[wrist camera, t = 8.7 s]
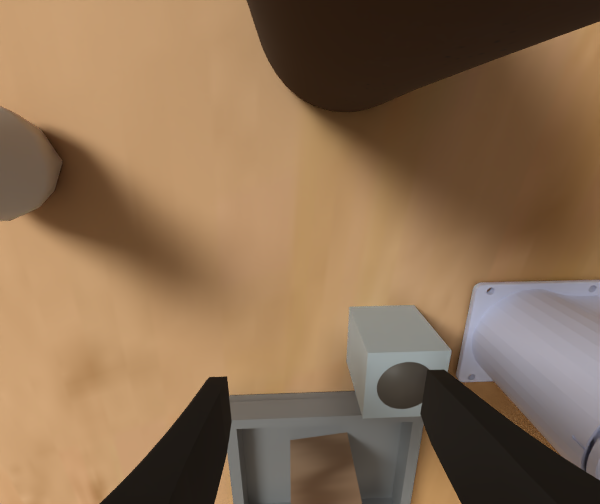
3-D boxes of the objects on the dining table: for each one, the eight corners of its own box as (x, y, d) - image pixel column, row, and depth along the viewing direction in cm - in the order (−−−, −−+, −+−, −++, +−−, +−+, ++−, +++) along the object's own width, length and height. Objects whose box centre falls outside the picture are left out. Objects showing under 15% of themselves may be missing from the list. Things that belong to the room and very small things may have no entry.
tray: (412, 389, 23) (425, 412, 20) (397, 495, 26) (406, 524, 24) (229, 395, 22) (223, 420, 20) (241, 502, 26) (237, 533, 24)
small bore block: (347, 432, 23) (362, 505, 18) (351, 472, 24) (367, 550, 20) (290, 440, 23) (290, 515, 18) (298, 479, 24) (300, 559, 20)
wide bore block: (413, 304, 20) (452, 351, 16) (406, 358, 22) (439, 416, 17) (349, 306, 20) (368, 353, 15) (346, 360, 22) (362, 419, 17)
